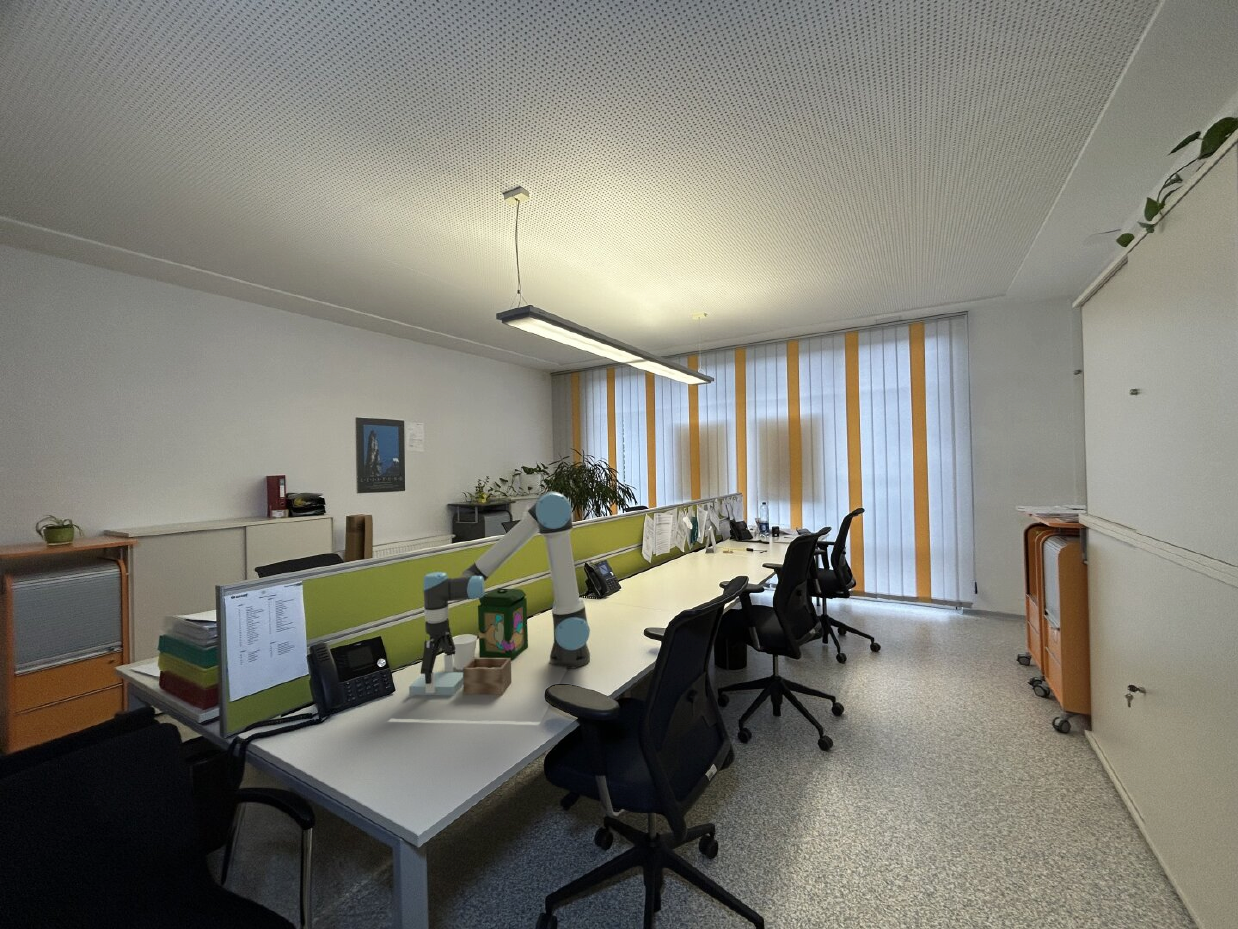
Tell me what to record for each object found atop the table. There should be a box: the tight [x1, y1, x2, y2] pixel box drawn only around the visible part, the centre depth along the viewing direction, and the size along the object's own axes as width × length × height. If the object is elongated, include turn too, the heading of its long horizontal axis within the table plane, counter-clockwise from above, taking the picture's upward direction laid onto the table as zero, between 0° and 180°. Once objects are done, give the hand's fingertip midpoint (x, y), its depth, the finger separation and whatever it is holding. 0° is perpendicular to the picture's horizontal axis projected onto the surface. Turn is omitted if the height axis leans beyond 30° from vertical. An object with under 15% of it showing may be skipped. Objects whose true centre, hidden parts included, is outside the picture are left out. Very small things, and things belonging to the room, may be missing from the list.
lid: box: [408, 671, 463, 698], centre depth 165 cm, size 15×11×4 cm
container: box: [477, 587, 529, 662], centre depth 196 cm, size 15×18×25 cm
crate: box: [462, 657, 513, 696], centre depth 163 cm, size 13×9×9 cm
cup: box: [450, 633, 478, 671], centre depth 182 cm, size 10×10×11 cm
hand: (440, 683), depth 165 cm, fingers open, 13 cm apart
